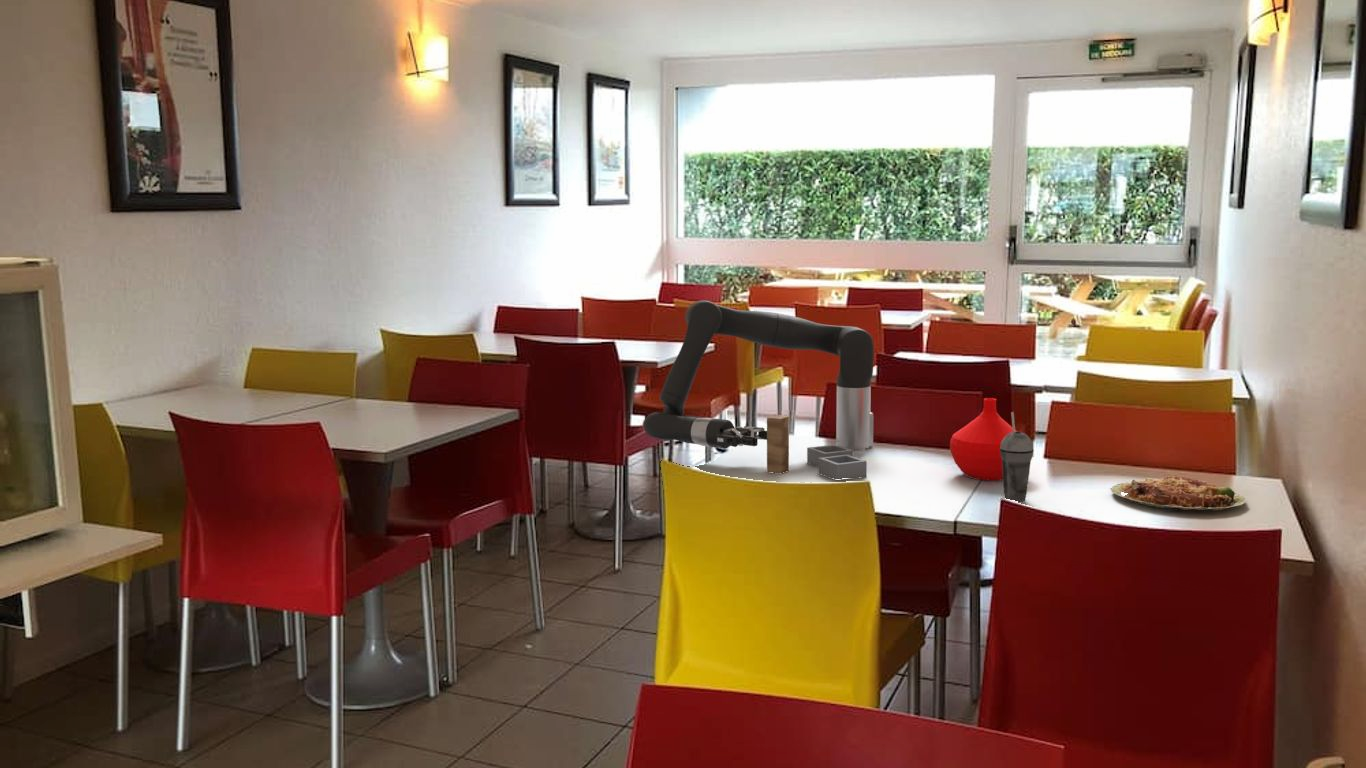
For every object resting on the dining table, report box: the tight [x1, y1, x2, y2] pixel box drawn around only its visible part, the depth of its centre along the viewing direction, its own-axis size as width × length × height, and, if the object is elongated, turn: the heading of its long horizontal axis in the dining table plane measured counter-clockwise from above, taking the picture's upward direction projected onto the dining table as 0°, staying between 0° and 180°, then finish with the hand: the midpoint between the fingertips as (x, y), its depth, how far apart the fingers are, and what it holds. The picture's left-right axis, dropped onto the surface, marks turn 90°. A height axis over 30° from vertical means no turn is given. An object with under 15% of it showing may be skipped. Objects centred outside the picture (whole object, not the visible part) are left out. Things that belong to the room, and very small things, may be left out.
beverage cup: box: [1000, 411, 1034, 503], centre depth 246 cm, size 7×7×20 cm
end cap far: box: [806, 444, 854, 468], centre depth 285 cm, size 8×8×4 cm
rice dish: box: [1109, 475, 1247, 512], centre depth 246 cm, size 28×28×5 cm
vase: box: [949, 397, 1019, 482], centre depth 269 cm, size 18×18×19 cm
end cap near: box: [817, 455, 868, 482], centre depth 272 cm, size 8×8×4 cm
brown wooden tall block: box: [766, 414, 790, 474], centre depth 276 cm, size 4×4×14 cm
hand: (765, 439), depth 278 cm, fingers open, 8 cm apart
